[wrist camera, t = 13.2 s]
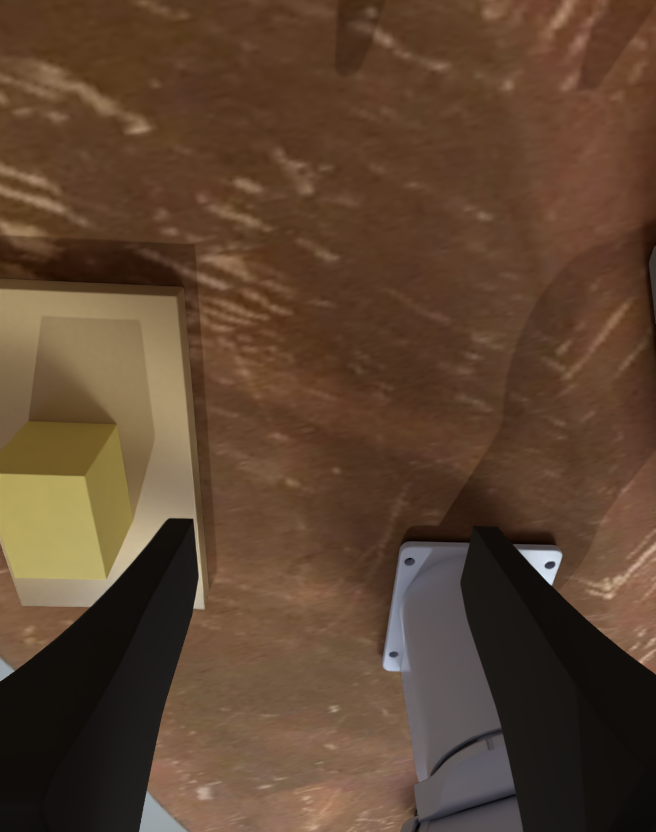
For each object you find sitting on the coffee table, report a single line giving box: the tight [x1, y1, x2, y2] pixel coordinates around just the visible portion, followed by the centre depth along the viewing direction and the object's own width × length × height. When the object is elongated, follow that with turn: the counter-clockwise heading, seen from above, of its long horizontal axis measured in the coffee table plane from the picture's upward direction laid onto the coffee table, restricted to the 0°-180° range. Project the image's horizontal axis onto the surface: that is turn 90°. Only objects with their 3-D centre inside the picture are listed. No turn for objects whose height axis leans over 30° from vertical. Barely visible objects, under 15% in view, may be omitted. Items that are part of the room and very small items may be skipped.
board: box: [0, 279, 209, 609], centre depth 23 cm, size 16×9×1 cm, turn 177°
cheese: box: [0, 421, 133, 580], centre depth 21 cm, size 5×4×4 cm
